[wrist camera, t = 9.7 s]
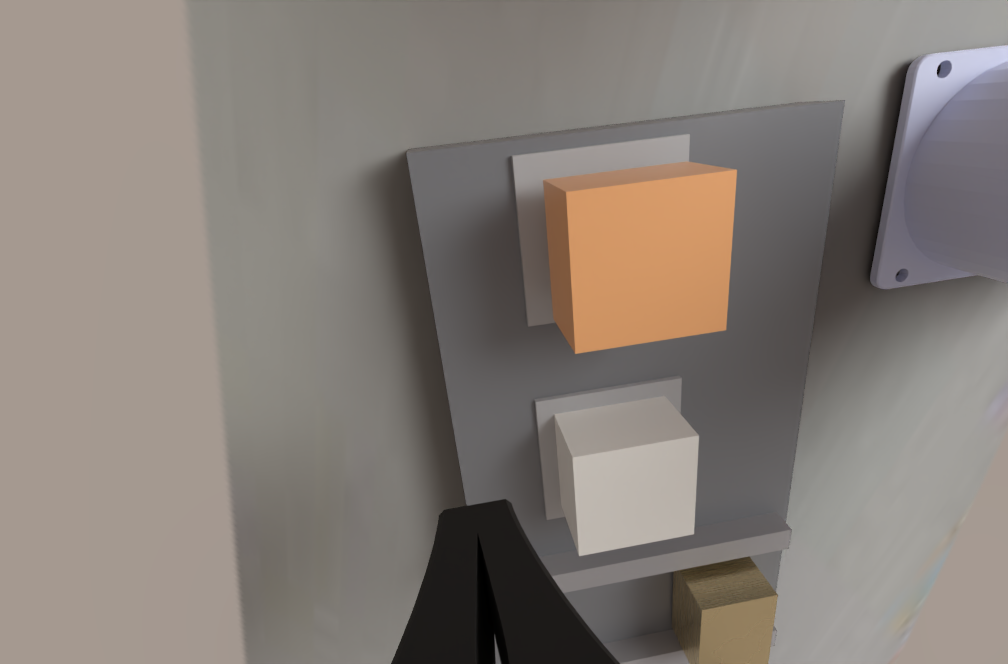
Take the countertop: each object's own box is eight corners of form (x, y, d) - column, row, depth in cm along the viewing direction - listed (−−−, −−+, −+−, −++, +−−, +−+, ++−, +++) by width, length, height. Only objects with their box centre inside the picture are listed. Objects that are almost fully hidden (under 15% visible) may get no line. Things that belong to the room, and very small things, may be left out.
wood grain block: (742, 546, 22) (777, 594, 20) (735, 613, 23) (767, 665, 21) (673, 560, 21) (701, 610, 19) (671, 626, 23) (697, 680, 21)
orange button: (686, 161, 14) (736, 169, 12) (682, 299, 16) (726, 330, 13) (542, 180, 14) (566, 191, 11) (553, 318, 15) (575, 353, 13)
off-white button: (664, 395, 18) (699, 435, 16) (663, 486, 20) (694, 534, 18) (553, 414, 18) (572, 457, 16) (561, 504, 19) (579, 556, 17)
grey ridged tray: (800, 102, 17) (871, 99, 14) (744, 610, 27) (781, 666, 24) (408, 149, 16) (404, 155, 13) (495, 661, 26) (503, 727, 23)
